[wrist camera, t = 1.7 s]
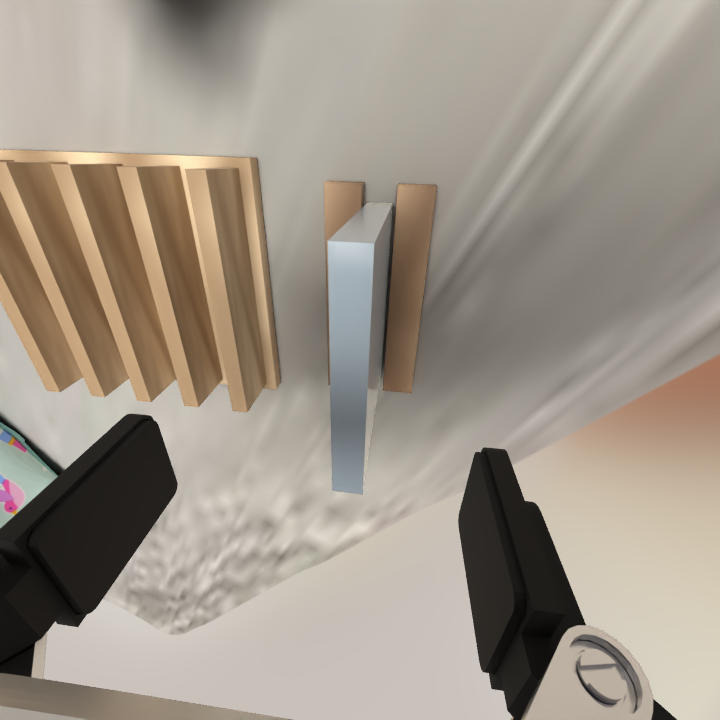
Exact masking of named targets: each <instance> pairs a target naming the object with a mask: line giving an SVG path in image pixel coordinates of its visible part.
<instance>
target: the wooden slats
mask: <svg viewBox="0 0 720 720" xmlns="http://www.w3.org/2000/svg"><path fill="white" fill-rule="evenodd" d="M436 190H437V186H436V185H424V184H398V190H397V204H396V217H395V231H394V245H393V258H392V272H391V285H390V299H389V313H388V326H387V340H386V354H385V367H384V381H383V390H385V391H395V392H405V393H411V391H412V383H413V375H414V367H415V359H416V351H417V343H418V335H419V327H420V319H421V311H422V303H423V295H424V286H425V278H426V270H427V262H428V254H429V246H430V238H431V230H432V222H433V214H434V206H435V198H436ZM324 198H325V243H326V288H327V334H328V379H329V385H330V344H329V292H328V240H329V239H330V238H331V237H332V236H333V235H334V234H335V233H336V232H337V231H338V230H339V229H340V228H341V227H342V226H344V225H345V224H346V223H347V222H348V221H349V220H350V219H351V218H352V217H353V216H354V215H355V214H356V213H357V212H358V211H359V210H360V209H361V208H362V207H363V206H364V182H346V181H326V182H324Z"/></svg>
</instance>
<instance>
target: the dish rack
mask: <svg viewBox="0 0 720 720" xmlns="http://www.w3.org/2000/svg"><path fill="white" fill-rule="evenodd" d="M0 301H1V303H2V305H3V307H4V309H5V311H6V313H7V315H8V317H9V319H10V321H11V322H12V324H13V326H14V328H15V330H16V332H17V334H18V336H19V338H20V340H21V342H22V344H23V345H24V347H25V349H26V351H27V353H28V355H29V357H30V359H31V361H32V363H33V365H34V367H35V369H36V370H37V372H38V374H39V376H40V378H41V380H42V382H43V384H44V386H45V388H46V390H47V391H54V392H61V391H63V390H64V389H66V388H67V387H69V386H70V385H72V384H73V383H75V382H76V381H78V380H79V379H81V378H82V377H84V380H85V382H86V384H87V386H88V389H89V391H90V393H91V395H92V396H100V397H106V396H107V395H108V394H109V393H111V392H112V391H113V390H115V389H116V388H117V387H119V386H120V385H121V384H122V383H124V382H125V381H126V380H128V379H130V382H131V385H132V387H133V390H134V393H135V396H136V398H137V401H146V402H152V401H153V400H154V399H155V398H156V397H157V396H158V395H159V394H160V393H161V392H162V391H163V390H165V389H166V388H167V387H168V386H169V385H170V384H171V383H172V382H173V381H174V380H175V379H177V381H178V385H179V388H180V392H181V395H182V399H183V402H184V406H193V407H199V406H200V405H201V404H202V403H203V401H204V400H205V399H206V398H207V397H208V396H209V394H210V393H211V392H212V391H213V390H214V389H215V388H216V386H217V385H218V384H227V385H228V389H229V394H230V399H231V404H232V409H233V411H239V412H248V411H249V409H250V408H251V406H252V405H253V403H254V402H255V400H256V399H257V397H258V395H259V394H260V392H261V391H262V389H263V388H267V389H277V387H278V386H279V384H280V382H281V380H280V371H279V361H278V352H277V342H276V333H275V323H274V314H273V304H272V295H271V285H270V276H269V267H268V257H267V248H266V238H265V229H264V219H263V210H262V200H261V191H260V181H259V172H258V162H257V158H244V157H213V156H182V155H151V154H121V153H90V152H59V151H28V150H0Z"/></svg>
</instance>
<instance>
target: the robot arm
mask: <svg viewBox="0 0 720 720" xmlns="http://www.w3.org/2000/svg"><path fill="white" fill-rule="evenodd" d="M176 490H177V480H176V477H175V474H174V471H173V468H172V465H171V462H170V459H169V456H168V453H167V450H166V447H165V444H164V441H163V438H162V435H161V432H160V429H159V426H158V424H157V422H156V421H154V420H153V418H152V417H151V416H148V415H139V414H127V415H126V416H124V417H123V418H122V419H121V420H120V421H119V422H118V423H116V424H115V425H114V426H113V427H112V428H111V429H110V430H109V431H108V432H107V433H105V434H104V435H103V436H102V437H101V438H100V439H99V440H98V441H97V442H95V443H94V444H93V445H92V446H91V447H90V448H89V449H88V450H87V451H85V452H84V453H83V454H82V455H81V456H80V457H79V458H78V459H77V460H76V461H74V462H73V463H72V464H71V465H70V466H69V467H68V468H67V469H66V470H64V471H63V472H62V473H61V474H60V475H59V476H58V477H57V478H56V479H54V480H53V481H52V482H51V483H50V484H49V485H48V486H47V487H46V488H44V489H43V490H42V491H41V492H40V493H39V494H38V495H37V496H36V497H35V498H33V499H32V500H31V501H30V502H29V503H28V504H27V505H26V506H25V507H23V508H22V509H21V510H20V511H19V512H18V513H17V514H16V515H15V516H13V517H12V518H11V519H10V520H9V521H8V522H7V523H6V524H5V525H4V526H2V527H1V528H0V720H291V719H284V718H279V717H273V716H267V715H261V714H255V713H249V712H243V711H237V710H231V709H225V708H219V707H213V706H207V705H201V704H195V703H188V702H182V701H176V700H170V699H164V698H157V697H152V696H145V695H139V694H133V693H127V692H121V691H115V690H108V689H102V688H96V687H89V686H83V685H77V684H70V683H64V682H58V681H51V680H45V679H43V676H44V663H45V652H46V641H47V631H48V630H49V628H50V627H51V626H52V624H53V623H54V622H55V621H56V622H57V624H62V625H68V626H75V627H78V626H79V625H80V623H81V622H82V620H83V619H84V618H85V616H86V615H87V614H89V613H91V612H92V611H93V610H94V609H95V608H96V607H97V606H98V604H99V603H100V602H101V600H102V599H103V597H104V596H105V595H106V593H107V592H108V590H109V589H110V587H111V586H112V584H113V583H114V582H115V580H116V579H117V577H118V576H119V574H120V573H121V571H122V570H123V569H124V567H125V566H126V564H127V563H128V561H129V560H130V558H131V557H132V556H133V554H134V553H135V551H136V550H137V548H138V547H139V545H140V544H141V543H142V541H143V540H144V538H145V537H146V535H147V534H148V532H149V531H150V530H151V528H152V527H153V525H154V524H155V522H156V521H157V519H158V518H159V517H160V515H161V514H162V512H163V511H164V509H165V508H166V506H167V505H168V504H169V502H170V501H171V499H172V498H173V496H174V495H175V493H176ZM458 521H459V522H458V523H459V532H460V539H461V545H462V552H463V558H464V564H465V571H466V578H467V584H468V590H469V597H470V604H471V610H472V616H473V623H474V629H475V636H476V643H477V649H478V655H479V662H480V666H481V669H482V671H483V672H486V673H489V676H490V682H491V688H492V689H497V690H503V691H504V694H505V700H506V704H507V710H508V712H509V713H510V714H511V715H512V718H511V720H677V719H676V718H674V717H673V716H672V715H671V714H670V713H669V712H668V711H666V710H665V709H664V708H663V707H662V706H661V705H660V704H659V703H657V702H656V701H655V700H654V699H653V694H652V691H651V688H650V685H649V681H648V679H647V677H646V675H645V674H644V672H643V670H642V668H641V666H640V664H639V663H638V662H637V661H636V659H635V658H634V657H633V656H632V654H631V653H630V652H629V651H628V650H627V649H626V648H625V647H624V646H623V645H622V644H621V643H620V642H618V641H617V640H616V639H615V638H613V637H612V636H610V635H609V634H607V633H605V632H603V631H602V630H599V629H597V628H594V627H591V626H586V624H585V622H584V619H583V617H582V614H581V612H580V609H579V607H578V604H577V602H576V599H575V596H574V594H573V591H572V589H571V586H570V584H569V581H568V579H567V577H566V574H565V571H564V569H563V566H562V564H561V561H560V559H559V556H558V554H557V551H556V549H555V546H554V544H553V541H552V539H551V536H550V533H549V531H548V528H547V526H546V523H545V521H544V519H543V516H542V513H541V511H540V509H539V507H538V506H537V505H536V504H535V503H533V502H528V501H525V500H524V498H523V495H522V492H521V489H520V487H519V484H518V481H517V478H516V475H515V473H514V470H513V467H512V464H511V462H510V459H509V456H508V453H507V451H506V450H505V449H494V448H483V449H482V451H481V453H480V452H476V453H475V455H474V458H473V462H472V466H471V470H470V474H469V477H468V481H467V485H466V489H465V493H464V497H463V501H462V505H461V509H460V513H459V520H458Z"/></svg>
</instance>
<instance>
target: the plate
mask: <svg viewBox="0 0 720 720" xmlns="http://www.w3.org/2000/svg"><path fill="white" fill-rule="evenodd" d="M392 207H393V203H379V202H368V203H367V204H366V205H365V206H363V207H362V208H361V209H360V210H359V211H358V212H357V213H356V214H355V215H354V216H353V217H352V218H351V219H350V220H349V221H348V222H347V223H346V224H345V225H344V226H342V227H341V228H340V229H339V230H338V231H337V232H336V233H335V234H334V235H333V236H332V237H331V238H330V239H329V240H328V292H329V344H330V396H331V448H332V491H340V492H348V493H356V494H363V489H364V483H365V476H366V469H367V462H368V456H369V449H370V442H371V436H372V429H373V422H374V415H375V409H376V402H377V395H378V389H379V382H380V375H381V368H382V354H383V339H384V324H385V310H386V295H387V281H388V266H389V251H390V237H391V222H392Z"/></svg>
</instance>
